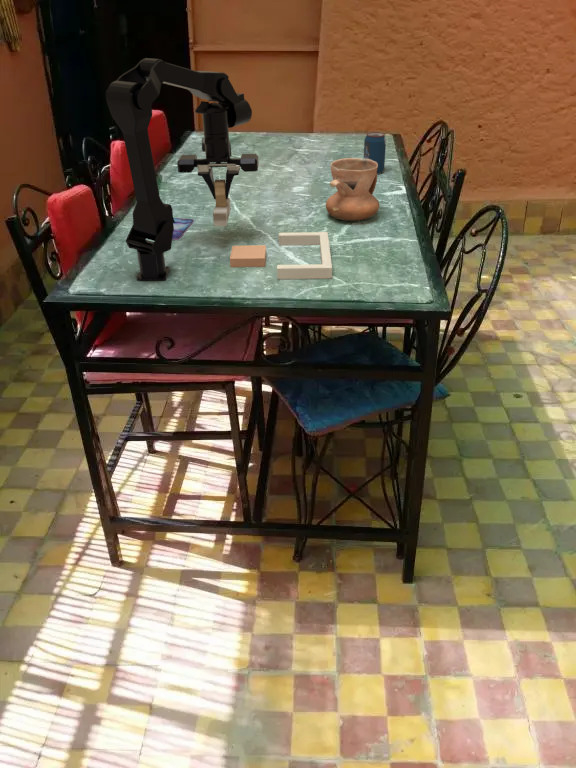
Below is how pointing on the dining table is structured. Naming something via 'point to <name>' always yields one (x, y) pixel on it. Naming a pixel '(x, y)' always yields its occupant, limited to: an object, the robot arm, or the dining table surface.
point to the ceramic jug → (353, 189)
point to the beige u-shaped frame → (307, 270)
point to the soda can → (375, 149)
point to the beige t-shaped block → (221, 204)
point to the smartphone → (181, 227)
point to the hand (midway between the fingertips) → (221, 199)
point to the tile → (248, 256)
